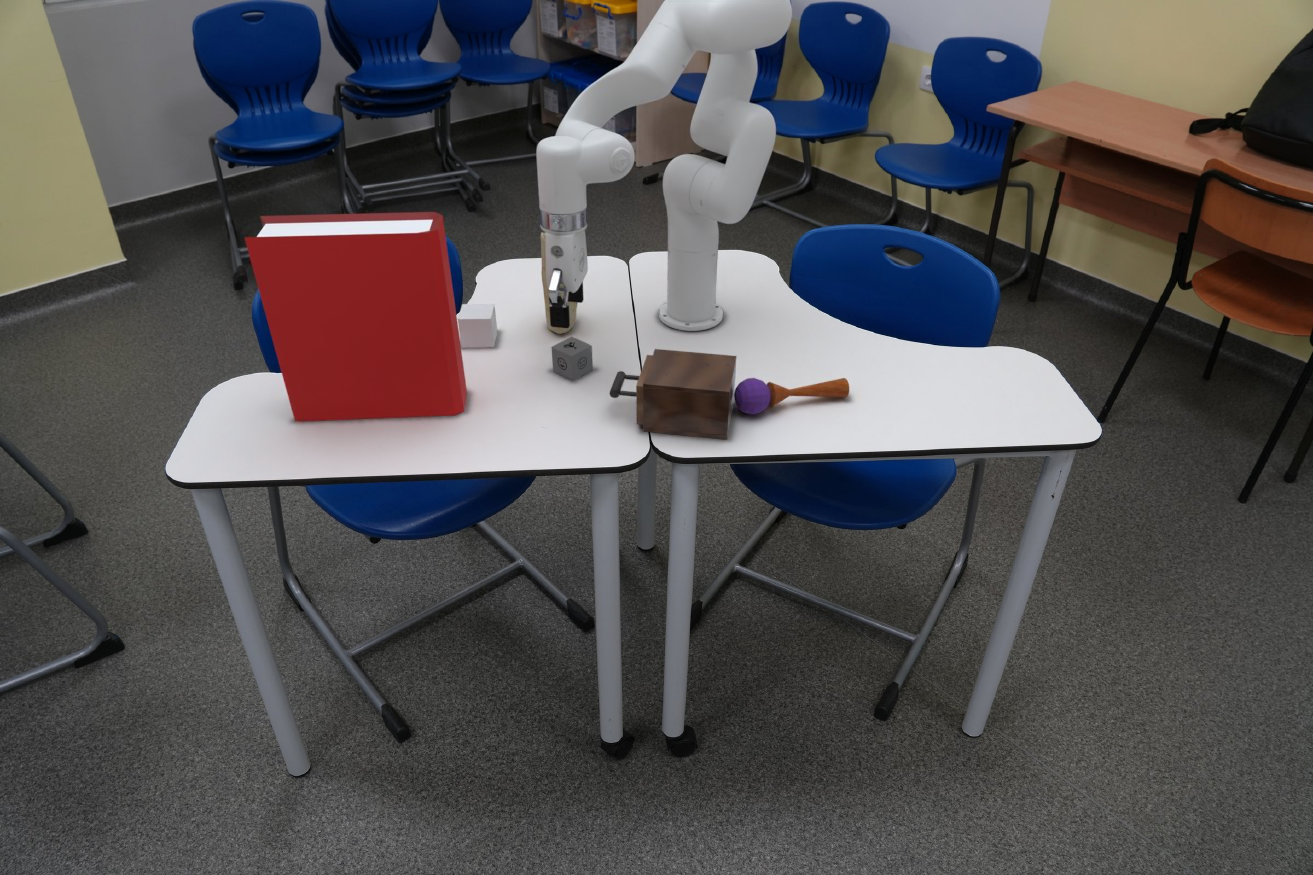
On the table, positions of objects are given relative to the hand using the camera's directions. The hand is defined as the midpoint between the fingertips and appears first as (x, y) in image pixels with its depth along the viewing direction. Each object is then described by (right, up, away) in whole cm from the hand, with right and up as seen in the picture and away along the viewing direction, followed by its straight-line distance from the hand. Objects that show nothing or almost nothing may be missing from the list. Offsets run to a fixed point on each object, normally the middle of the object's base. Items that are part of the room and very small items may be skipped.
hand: (567, 313), depth 155 cm
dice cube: (0, -9, +7) cm, 12 cm away
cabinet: (+21, -18, -5) cm, 28 cm away
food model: (-3, 0, +21) cm, 21 cm away
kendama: (+38, -16, -2) cm, 41 cm away
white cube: (-18, -3, +16) cm, 24 cm away
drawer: (+17, -17, -5) cm, 24 cm away
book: (-31, -16, -2) cm, 35 cm away
